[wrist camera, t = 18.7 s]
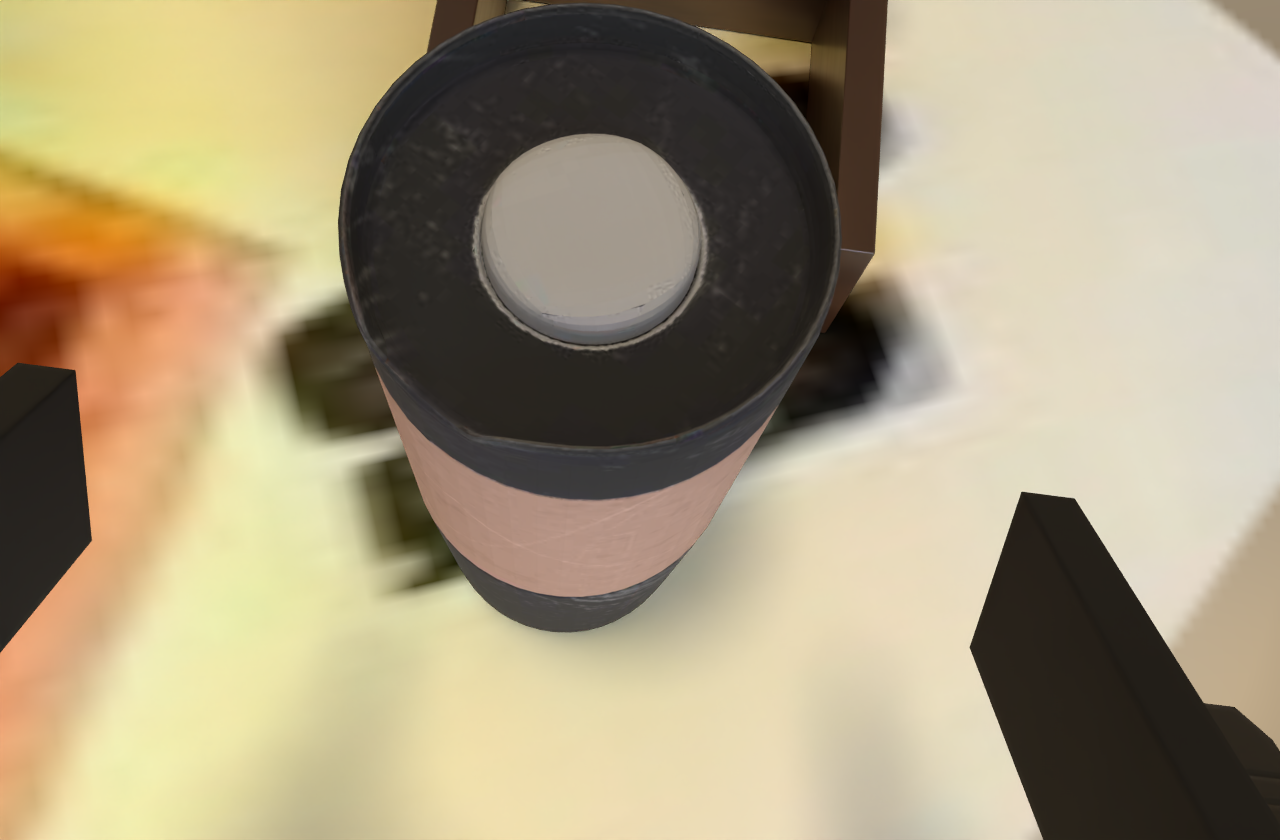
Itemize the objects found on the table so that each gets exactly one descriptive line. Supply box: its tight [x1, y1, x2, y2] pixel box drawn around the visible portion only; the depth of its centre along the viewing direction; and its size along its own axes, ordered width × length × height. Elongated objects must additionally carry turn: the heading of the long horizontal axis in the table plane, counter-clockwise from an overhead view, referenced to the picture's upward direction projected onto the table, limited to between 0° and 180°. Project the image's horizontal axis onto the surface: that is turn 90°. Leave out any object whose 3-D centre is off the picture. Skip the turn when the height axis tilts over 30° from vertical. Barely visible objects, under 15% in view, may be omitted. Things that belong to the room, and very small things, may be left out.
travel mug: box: [338, 2, 842, 632], centre depth 26 cm, size 8×8×20 cm
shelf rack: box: [427, 0, 888, 333], centre depth 34 cm, size 14×13×13 cm
